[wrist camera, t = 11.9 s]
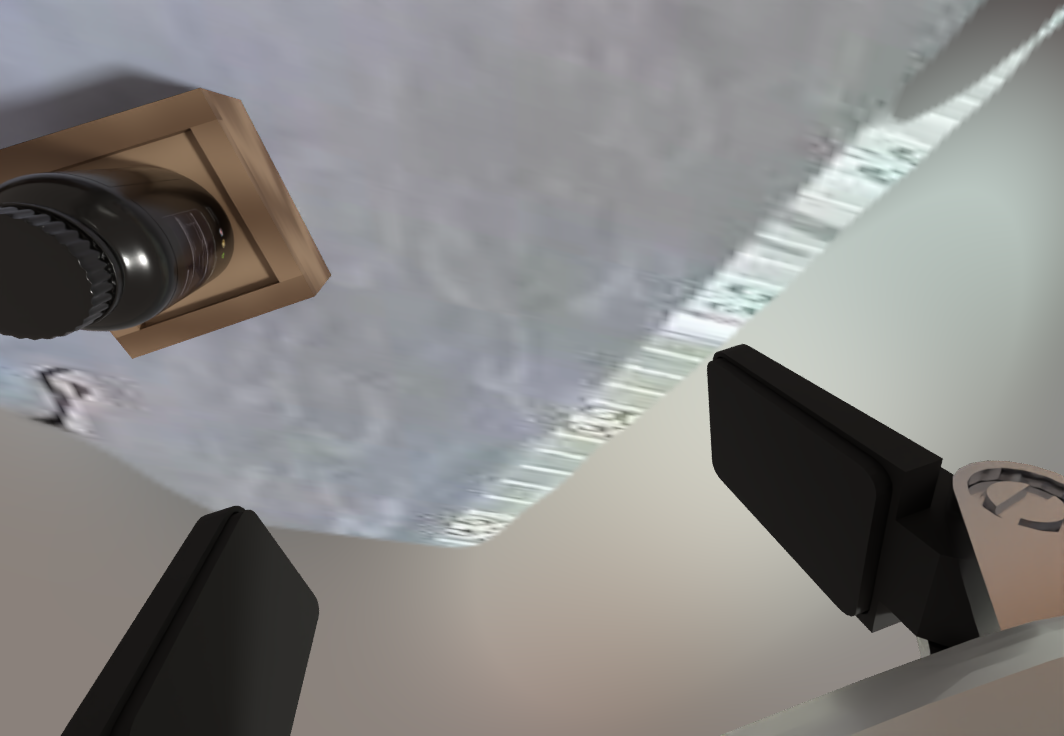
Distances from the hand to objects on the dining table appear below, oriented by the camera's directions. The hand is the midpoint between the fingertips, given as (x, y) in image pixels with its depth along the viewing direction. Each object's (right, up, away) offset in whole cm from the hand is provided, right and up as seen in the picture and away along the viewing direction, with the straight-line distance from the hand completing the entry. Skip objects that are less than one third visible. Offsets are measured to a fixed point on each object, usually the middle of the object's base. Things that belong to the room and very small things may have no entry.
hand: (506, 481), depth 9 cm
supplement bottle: (-21, +11, +18) cm, 29 cm away
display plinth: (-22, +12, +22) cm, 34 cm away
